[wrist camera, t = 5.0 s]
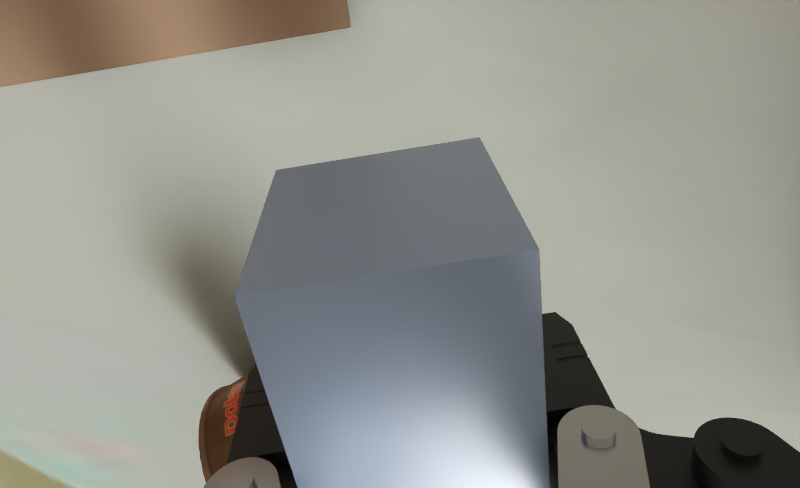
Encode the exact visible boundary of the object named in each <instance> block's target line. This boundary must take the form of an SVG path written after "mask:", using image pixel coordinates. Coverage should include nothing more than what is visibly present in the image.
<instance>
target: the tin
mask: <svg viewBox="0 0 800 488" xmlns="http://www.w3.org/2000/svg"><path fill="white" fill-rule="evenodd" d="M248 375H249V374H248ZM248 375H246V376H244V377H243V378H241V379H239V380H238V381H236V382H234V383H233V384H231V385H228V386H224V387H221V388H219V389H217V390H216V391H215V392H213V393H212V395H211V396H210V397H209V398H208V399H207V401H206V403H205V405H204V408H203V411H202V413H201V418H200V424H199V450H200V459H201V463H202V469H203V474H204V477H205V481H206V483H207V481H208V480H209V479H210V478H211V477H212V475H213V474H215V473H216V472H217V471H218V470H219V469H221V468H222V467H223V466H225V465H227V461H228V457H229V452H230V448H231V444H232V440H233V436H234V432H235V428H236V424H237V420H238V415H239V411H241V408H240V407H241V403H242V399H243V396H244V391H245V387H246V382H247V378H248Z"/></svg>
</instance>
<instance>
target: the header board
mask: <svg viewBox="0 0 800 488" xmlns="http://www.w3.org/2000/svg"><path fill="white" fill-rule="evenodd" d="M344 28H350V19H349V13H348V8H347V2H346V0H0V87H4V86H10V85H16V84H22V83H28V82H33V81H39V80H45V79H51V78H57V77H63V76H69V75H74V74H80V73H86V72H92V71H98V70H104V69H110V68H115V67H121V66H127V65H133V64H139V63H145V62H151V61H156V60H162V59H168V58H174V57H180V56H186V55H192V54H197V53H203V52H209V51H215V50H221V49H227V48H233V47H239V46H244V45H250V44H256V43H262V42H268V41H274V40H280V39H285V38H291V37H297V36H303V35H309V34H315V33H321V32H326V31H332V30H338V29H344Z"/></svg>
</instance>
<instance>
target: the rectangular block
mask: <svg viewBox="0 0 800 488" xmlns="http://www.w3.org/2000/svg"><path fill="white" fill-rule="evenodd" d="M234 299H235V302H236V305H237V308H238V311H239V314H240V317H241V320H242V323H243V326H244V329H245V332H246V335H247V338H248V341H249V344H250V347H251V350H252V353H253V356H254V359H255V362H256V365H257V368H258V371H259V374H260V377H261V380H262V383H263V386H264V389H265V392H266V395H267V398H268V401H269V404H270V407H271V410H272V413H273V416H274V419H275V421H276V424H277V427H278V430H279V433H280V436H281V439H282V442H283V445H284V448H285V451H286V454H287V457H288V460H289V463H290V466H291V469H292V472H293V475H294V478H295V481H296V484H297V487H298V488H550V483H549V460H548V438H547V416H546V393H545V371H544V348H543V326H542V303H541V281H540V258H539V248H538V246H537V244H536V243H535V241H534V239H533V237H532V235H531V233H530V231H529V229H528V228H527V226H526V224H525V222H524V220H523V218H522V216H521V214H520V213H519V211H518V209H517V207H516V205H515V203H514V201H513V199H512V198H511V196H510V194H509V192H508V190H507V188H506V186H505V184H504V183H503V181H502V179H501V177H500V175H499V173H498V171H497V169H496V168H495V166H494V164H493V162H492V160H491V158H490V156H489V154H488V153H487V151H486V149H485V147H484V145H483V143H482V141H481V139H480V138H473V139H467V140H460V141H454V142H448V143H442V144H435V145H429V146H423V147H417V148H411V149H404V150H398V151H392V152H386V153H380V154H373V155H367V156H361V157H355V158H349V159H342V160H336V161H330V162H324V163H318V164H311V165H305V166H299V167H293V168H287V169H280V170H276V172H275V175H274V178H273V181H272V184H271V187H270V190H269V193H268V196H267V199H266V202H265V205H264V208H263V211H262V214H261V217H260V220H259V223H258V226H257V229H256V232H255V235H254V238H253V241H252V244H251V247H250V250H249V253H248V256H247V259H246V262H245V265H244V268H243V271H242V274H241V277H240V280H239V283H238V286H237V289H236V292H235V295H234Z"/></svg>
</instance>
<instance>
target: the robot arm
mask: <svg viewBox="0 0 800 488" xmlns="http://www.w3.org/2000/svg"><path fill="white" fill-rule="evenodd" d="M542 326H543V348H544V371H545V393H546V416H547V438H548V460H549V483H550V488H800V452H798V451H797V450H796V449H794V448H793V447H792V446H790V445H789V444H788V443H786V442H785V441H784V440H782V439H781V438H780V437H778V436H777V435H776V434H774V433H773V432H771V431H770V430H768V429H767V428H765V427H763V426H761V425H759V424H756V423H754V422H751V421H747V420H744V419H738V418H718V419H713V420H710V421H708V422H706V423H704V424H703V425H701V426H700V427H699V428H698V430H697V431H696V433H695V436H694V438H688V437H679V436H669V435H661V434H655V433H652V432H648V431H645V430H643V429H640V428H638V427H637V425H636V424H635V423H634V421H633V420H632V419H631V418H629V417H628V416H627V415H625V414H624V413H622V412H620V411H618V410H616V409H615V407H614V405H613V404H612V402H611V400H610V398H609V396H608V394H607V392H606V390H605V388H604V386H603V384H602V382H601V380H600V378H599V376H598V374H597V372H596V371H595V369H594V367H593V365H592V363H591V361H590V359H589V358H588V357H587V353H586V351H585V349H584V347H583V345H582V344H581V342H580V339H579V337H578V336H577V334H576V332H575V330H574V328H573V326H572V324H570V323H569V322H568V321H566V320H565V319H564V318H562V317H561V316H560V315H558V314H557V313H556V312H553V313H547V314H542ZM240 408H241V411H239V415H238V420H237V424H236V428H235V432H234V436H233V440H232V444H231V448H230V452H229V457H228V461H227V465H225V466H223V467H222V468H221V469H219V470H218V471H217V472H216V473H215V474H213V475H212V477H211V478H210V479H209V480H208V481H207V483H206V484H205V486H204V488H298V487H297V484H296V481H295V478H294V475H293V472H292V469H291V466H290V463H289V460H288V457H287V454H286V451H285V448H284V445H283V442H282V439H281V436H280V433H279V430H278V427H277V424H276V421H275V419H274V416H273V413H272V410H271V407H270V404H269V401H268V398H267V395H266V392H265V389H264V386H263V383H262V380H261V377H260V374H259V371H258V368H257V365H256V366H255V367H254V368H253V369H252V371H251V372H250V373H249V375H248V378H247V382H246V387H245V391H244V396H243V399H242V403H241V407H240Z"/></svg>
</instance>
